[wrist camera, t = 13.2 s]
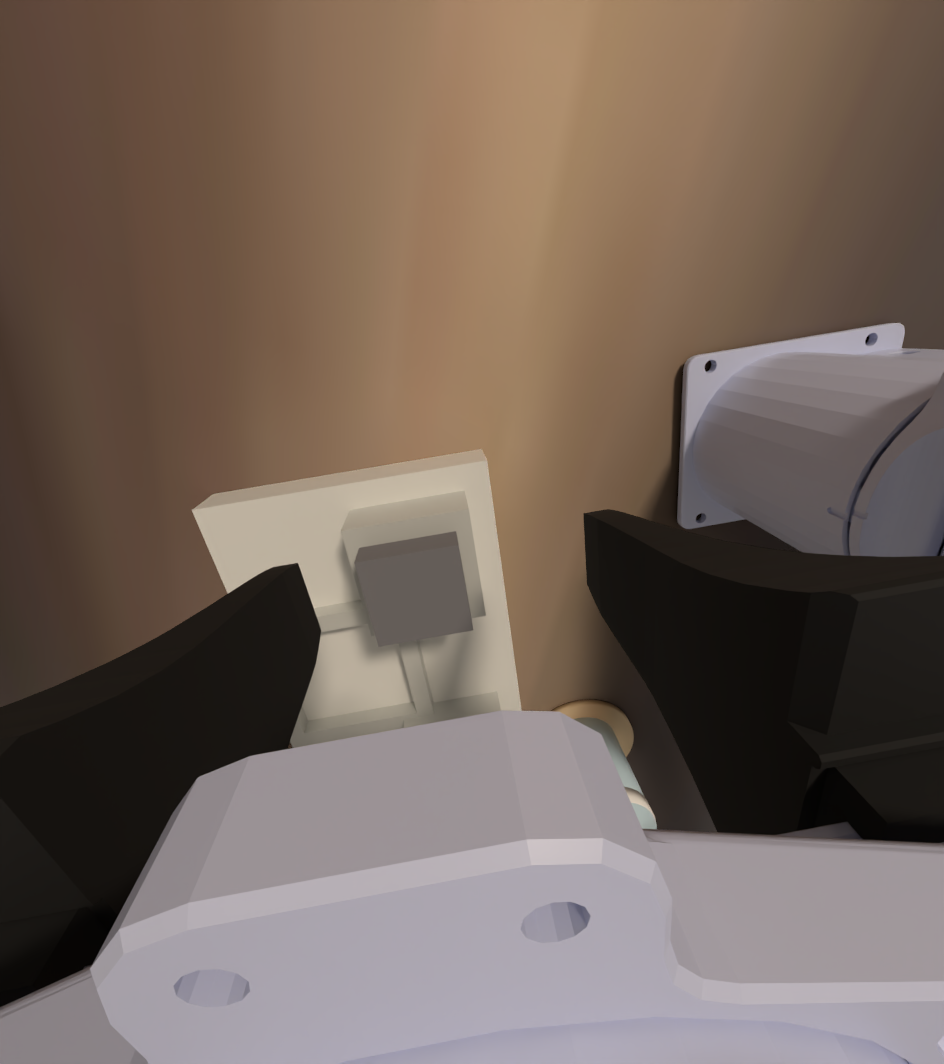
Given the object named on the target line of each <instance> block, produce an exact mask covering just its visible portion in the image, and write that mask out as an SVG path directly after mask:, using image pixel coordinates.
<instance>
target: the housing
mask: <svg viewBox="0 0 944 1064" xmlns="http://www.w3.org/2000/svg"><path fill="white" fill-rule="evenodd" d="M192 512H193V514H194V516H195V519H196V521H197V523H198V526H199V528H200V530H201V533H202V535H203V537H204V540H205V542H206V544H207V547H208V549H209V551H210V554H211V556H212V558H213V560H214V563H215V565H216V567H217V570H218V572H219V574H220V577H221V579H222V581H223V584H224V586H225V588H226V591H227V593H230V592H231V591H233V590H234V589H236V588H237V587H239V586H241V585H242V584H244V583H245V582H247V581H248V580H250V579H252V578H253V577H255V576H257V575H258V574H260V573H262V572H264V571H266V570H268V569H270V568H272V567H276V566H282V565H288V564H294V563H298V564H299V567H300V570H301V573H302V576H303V579H304V582H305V585H306V588H307V590H308V593H309V596H310V599H311V602H312V605H313V608H314V611H315V614H316V616H317V619H318V622H319V625H320V628H321V636H320V643H319V649H318V655H317V660H316V665H315V668H314V671H313V675H312V678H311V681H310V684H309V687H308V690H307V693H306V696H305V699H304V701H303V704H302V707H301V710H300V713H299V716H298V719H297V722H296V725H295V728H294V731H293V734H292V737H291V739H290V742H291V744H292V747H293V748H296V747H301V746H307V745H312V744H318V743H323V742H329V741H335V740H340V739H346V738H351V737H357V736H362V735H368V734H373V733H379V732H384V731H390V730H395V729H401V728H406V727H412V726H417V725H423V724H428V723H434V722H439V721H445V720H450V719H456V718H461V717H467V716H473V715H478V714H484V713H489V712H495V711H500V710H511V711H521V704H520V696H519V689H518V682H517V675H516V667H515V660H514V653H513V646H512V638H511V631H510V624H509V617H508V609H507V602H506V595H505V587H504V580H503V573H502V566H501V558H500V551H499V544H498V537H497V529H496V522H495V515H494V508H493V500H492V493H491V486H490V479H489V471H488V464H487V459H486V457H485V455H484V453H483V451H482V449H478V450H472V451H466V452H460V453H454V454H448V455H442V456H436V457H430V458H424V459H419V460H413V461H407V462H401V463H395V464H389V465H383V466H377V467H371V468H365V469H359V470H353V471H347V472H341V473H335V474H330V475H324V476H318V477H312V478H306V479H300V480H294V481H288V482H282V483H276V484H270V485H264V486H258V487H252V488H246V489H240V490H235V491H229V492H223V493H217V494H213V495H211V496H210V497H209V498H207V499H206V500H205V501H203V502H202V503H201V504H199V505H198V506H197V507H195V508H194V509H193V510H192ZM454 531H456V533H457V539H458V544H459V550H460V556H461V561H462V567H463V573H464V578H465V584H466V589H467V595H468V601H469V606H470V612H471V618H472V625H473V630H472V631H467V632H461V633H455V634H450V635H444V636H438V637H433V638H427V639H421V640H416V641H410V642H404V643H399V644H393V645H387V646H382V647H378V644H377V640H376V637H375V633H374V630H373V626H372V623H371V620H370V616H369V613H368V609H367V606H366V602H365V599H364V595H363V592H362V588H361V585H360V581H359V578H358V574H357V571H356V568H355V564H354V562H355V559H356V556H357V553H358V549H359V548H361V547H367V546H373V545H378V544H384V543H390V542H396V541H402V540H408V539H413V538H419V537H425V536H431V535H437V534H442V533H448V532H454Z"/></svg>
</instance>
